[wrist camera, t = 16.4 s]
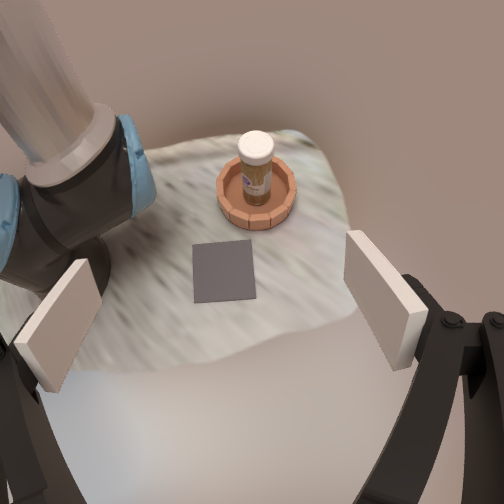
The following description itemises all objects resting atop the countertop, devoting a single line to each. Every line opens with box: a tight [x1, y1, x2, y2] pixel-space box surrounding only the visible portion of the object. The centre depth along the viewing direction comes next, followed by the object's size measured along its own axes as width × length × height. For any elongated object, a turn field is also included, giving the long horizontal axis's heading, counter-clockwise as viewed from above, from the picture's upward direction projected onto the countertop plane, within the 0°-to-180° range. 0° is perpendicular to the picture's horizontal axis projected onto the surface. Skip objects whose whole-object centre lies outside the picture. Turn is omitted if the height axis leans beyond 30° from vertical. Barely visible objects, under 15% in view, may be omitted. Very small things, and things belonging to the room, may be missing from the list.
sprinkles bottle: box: [238, 131, 274, 206], centre depth 44 cm, size 5×5×13 cm
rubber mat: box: [192, 240, 256, 303], centre depth 47 cm, size 9×9×1 cm
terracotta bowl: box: [216, 156, 297, 231], centre depth 49 cm, size 12×12×4 cm
